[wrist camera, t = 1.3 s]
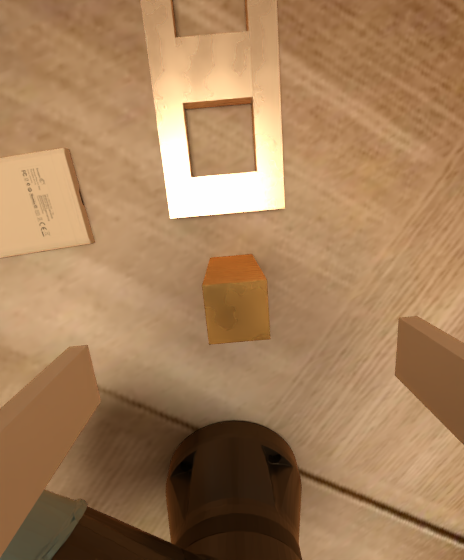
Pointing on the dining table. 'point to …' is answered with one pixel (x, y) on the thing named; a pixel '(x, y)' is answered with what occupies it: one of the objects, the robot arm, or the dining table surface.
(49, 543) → the robot arm
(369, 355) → the dining table surface
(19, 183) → the external hard drive
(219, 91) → the rail plate
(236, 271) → the brass peg
